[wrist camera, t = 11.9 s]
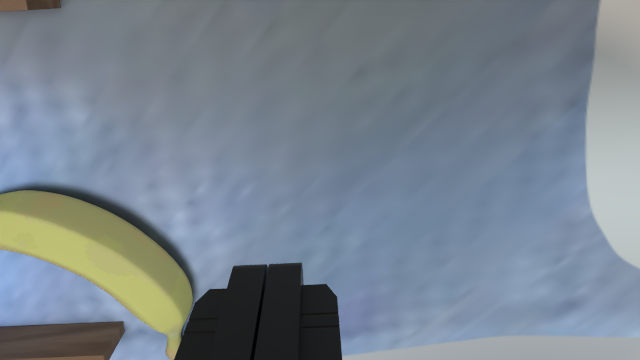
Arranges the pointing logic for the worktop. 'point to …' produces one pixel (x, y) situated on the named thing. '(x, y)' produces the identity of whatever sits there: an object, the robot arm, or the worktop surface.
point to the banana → (100, 255)
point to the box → (60, 339)
